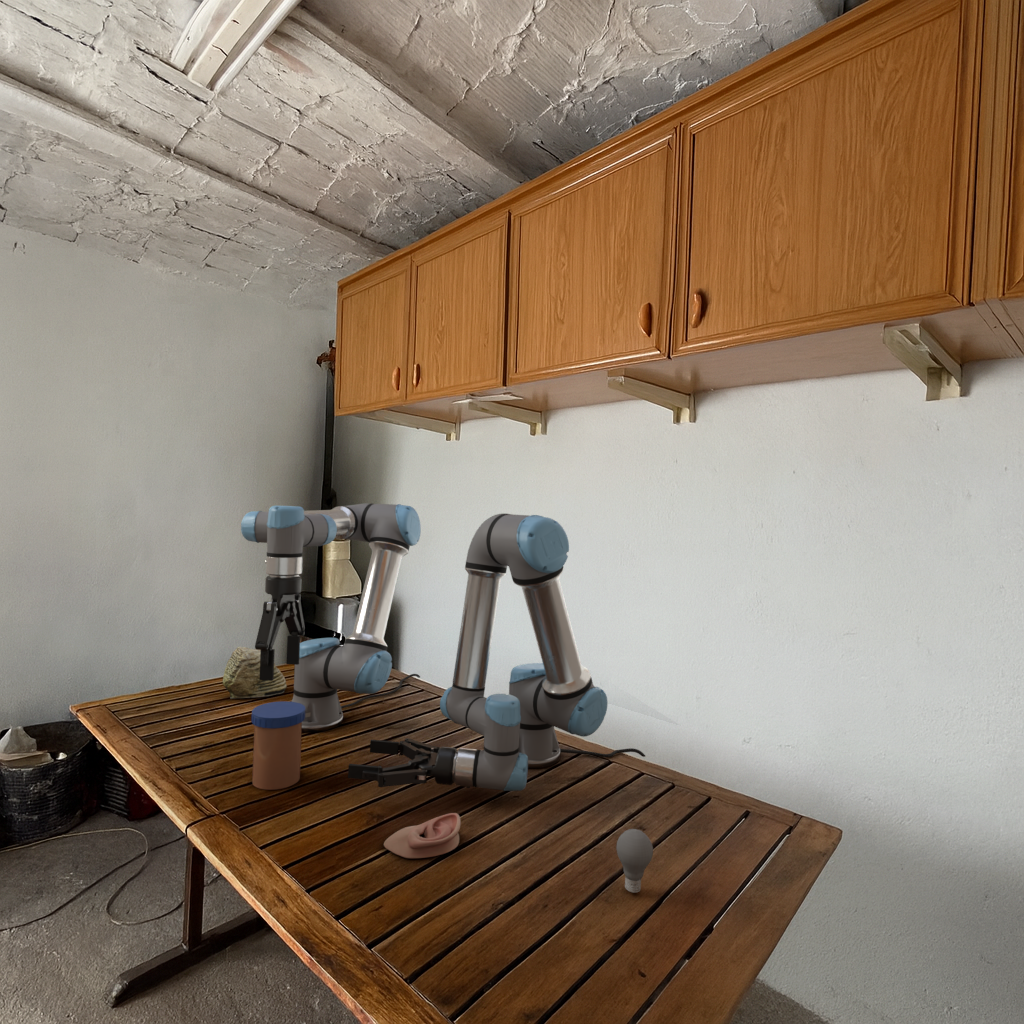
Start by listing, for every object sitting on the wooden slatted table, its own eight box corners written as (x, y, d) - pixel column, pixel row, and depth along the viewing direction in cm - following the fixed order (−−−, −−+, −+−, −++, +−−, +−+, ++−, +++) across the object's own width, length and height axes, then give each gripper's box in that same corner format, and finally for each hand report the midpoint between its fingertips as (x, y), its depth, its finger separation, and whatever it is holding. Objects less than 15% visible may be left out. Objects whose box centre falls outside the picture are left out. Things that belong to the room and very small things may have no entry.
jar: (289, 791, 136) (292, 720, 135) (244, 788, 136) (246, 717, 136) (306, 771, 146) (309, 705, 145) (263, 768, 146) (266, 702, 146)
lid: (294, 730, 135) (294, 719, 135) (242, 727, 135) (242, 716, 135) (312, 712, 146) (312, 702, 146) (264, 709, 146) (264, 700, 146)
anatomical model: (377, 831, 113) (401, 802, 124) (376, 853, 113) (400, 822, 124) (448, 842, 110) (466, 811, 122) (447, 865, 111) (465, 832, 122)
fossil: (218, 695, 195) (220, 647, 195) (278, 685, 208) (279, 640, 207) (228, 703, 189) (230, 653, 188) (289, 692, 201) (290, 645, 201)
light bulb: (610, 879, 108) (613, 822, 108) (644, 879, 109) (647, 822, 109) (619, 902, 102) (622, 840, 102) (655, 901, 103) (658, 840, 103)
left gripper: (290, 568, 153) (287, 656, 153) (239, 581, 128) (235, 686, 128) (321, 570, 152) (317, 658, 152) (275, 583, 127) (271, 689, 128)
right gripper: (442, 811, 124) (337, 801, 126) (465, 760, 149) (377, 752, 151) (444, 773, 124) (339, 764, 126) (466, 728, 148) (379, 721, 151)
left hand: (280, 671), depth 140 cm, fingers open, 12 cm apart
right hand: (360, 757), depth 138 cm, fingers open, 13 cm apart
